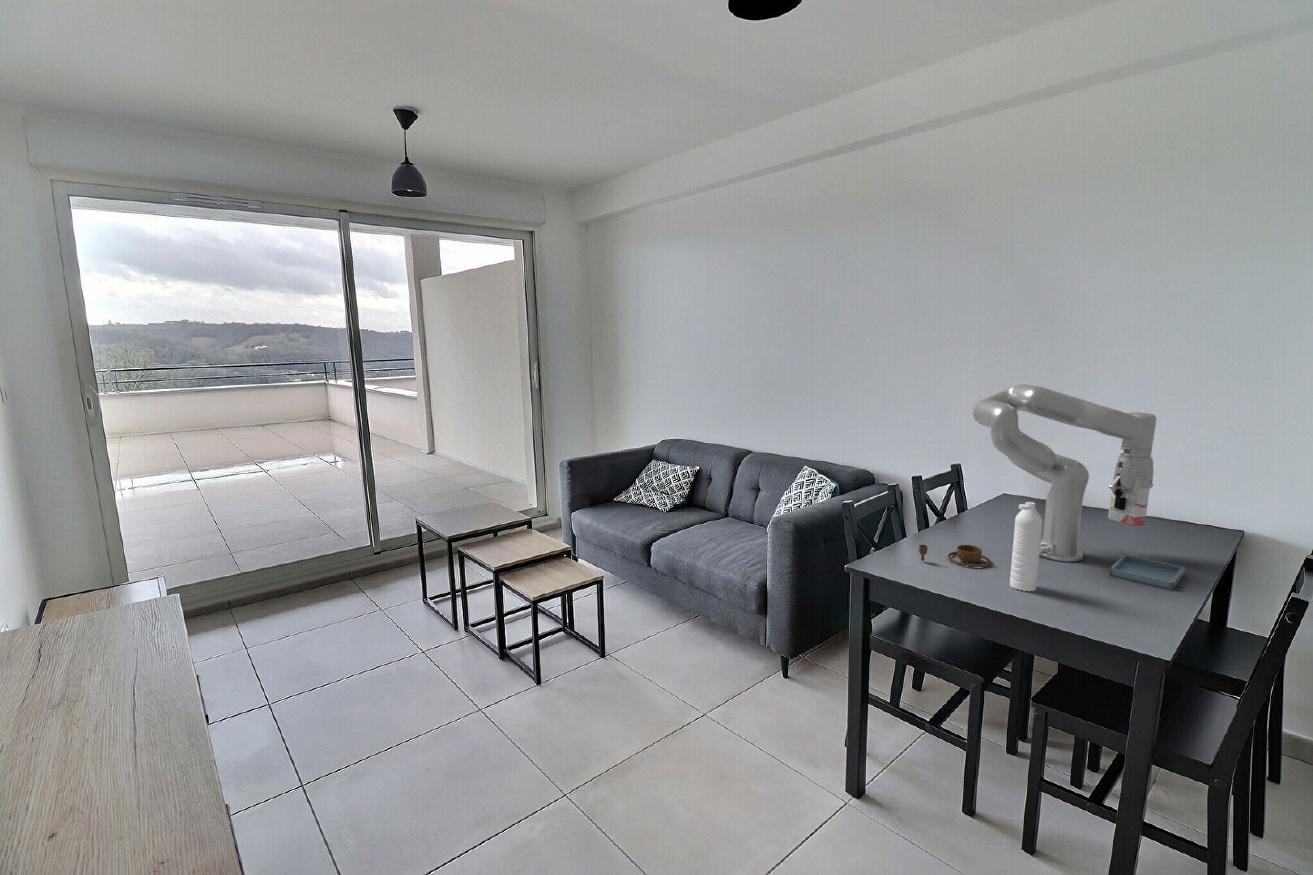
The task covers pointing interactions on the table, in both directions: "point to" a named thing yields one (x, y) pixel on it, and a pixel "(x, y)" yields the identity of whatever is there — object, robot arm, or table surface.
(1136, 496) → the ink cartridge box
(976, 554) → the place setting
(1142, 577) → the tray
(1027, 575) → the water bottle
